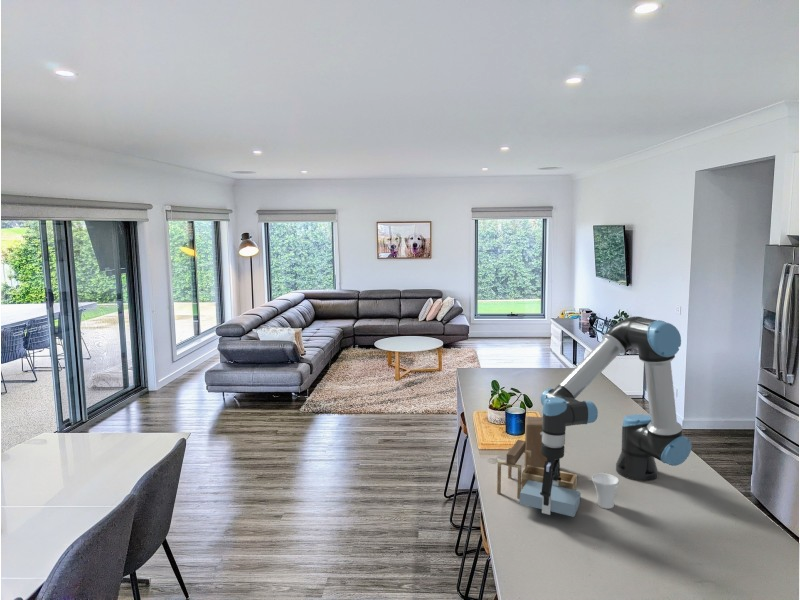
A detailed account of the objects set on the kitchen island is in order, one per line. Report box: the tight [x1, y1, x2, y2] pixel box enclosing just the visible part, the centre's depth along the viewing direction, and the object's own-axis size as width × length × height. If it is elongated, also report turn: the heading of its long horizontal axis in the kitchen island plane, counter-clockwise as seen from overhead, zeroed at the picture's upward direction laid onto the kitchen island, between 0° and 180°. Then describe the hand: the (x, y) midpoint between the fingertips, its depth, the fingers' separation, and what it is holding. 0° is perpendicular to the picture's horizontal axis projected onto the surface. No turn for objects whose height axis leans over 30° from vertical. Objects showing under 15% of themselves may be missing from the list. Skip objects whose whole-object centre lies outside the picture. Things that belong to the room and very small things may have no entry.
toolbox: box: [496, 446, 578, 500], centre depth 198 cm, size 26×15×12 cm, turn 62°
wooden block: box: [524, 416, 547, 469], centre depth 218 cm, size 10×10×20 cm
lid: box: [519, 480, 582, 517], centre depth 184 cm, size 18×11×4 cm, turn 62°
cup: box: [591, 472, 620, 510], centre depth 189 cm, size 9×9×10 cm
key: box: [506, 439, 526, 465], centre depth 201 cm, size 3×15×4 cm, turn 152°
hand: (549, 505), depth 185 cm, fingers closed on lid, 11 cm apart
